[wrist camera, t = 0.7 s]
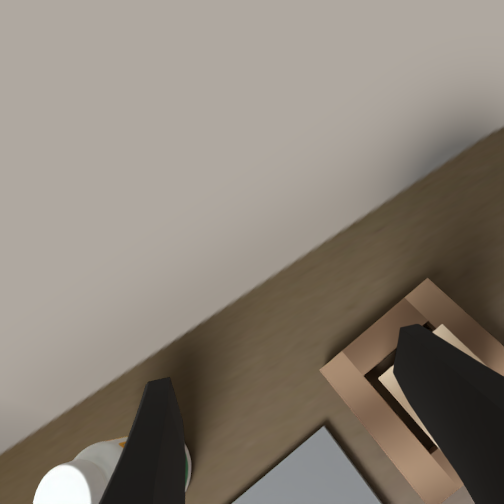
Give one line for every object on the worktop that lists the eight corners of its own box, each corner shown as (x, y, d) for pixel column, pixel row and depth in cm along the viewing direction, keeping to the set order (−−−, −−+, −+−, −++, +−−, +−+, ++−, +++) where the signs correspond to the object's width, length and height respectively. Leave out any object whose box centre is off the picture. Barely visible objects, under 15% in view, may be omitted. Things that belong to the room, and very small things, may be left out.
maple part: (477, 390, 22) (518, 396, 15) (427, 431, 23) (446, 456, 16) (426, 339, 24) (442, 323, 17) (380, 377, 24) (377, 378, 17)
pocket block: (554, 400, 21) (565, 401, 20) (428, 502, 22) (431, 511, 20) (425, 283, 25) (427, 277, 24) (322, 370, 26) (319, 370, 24)
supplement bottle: (198, 435, 27) (113, 461, 19) (187, 517, 26) (88, 586, 17) (140, 422, 29) (38, 441, 21) (126, 498, 28) (9, 552, 19)
